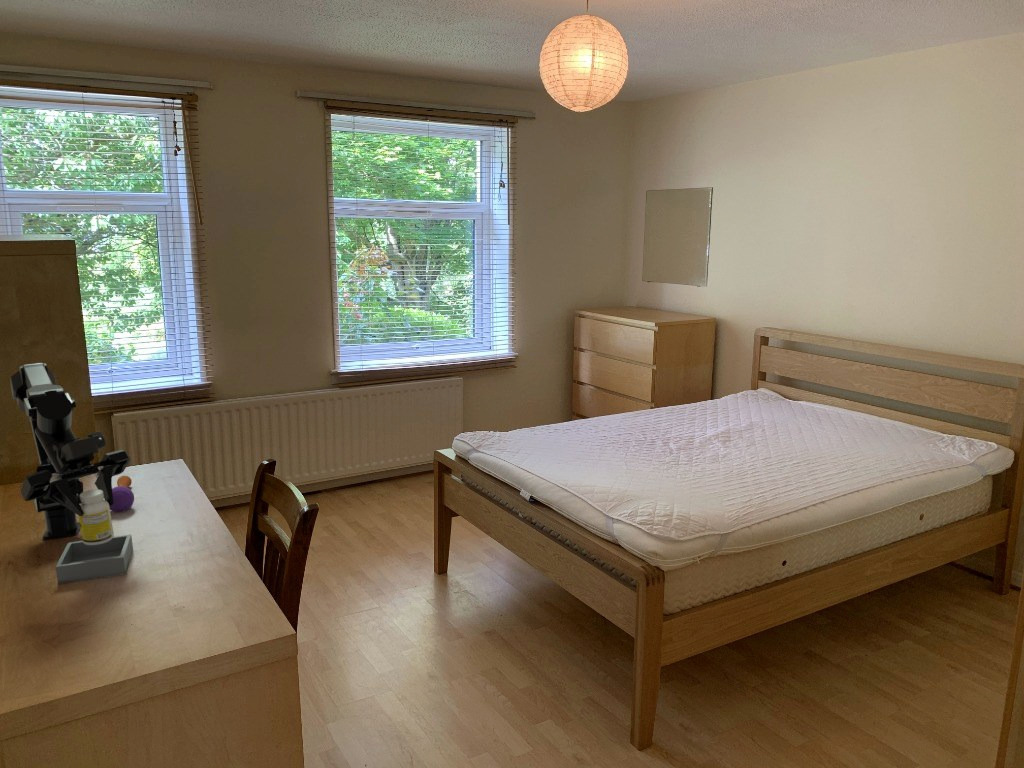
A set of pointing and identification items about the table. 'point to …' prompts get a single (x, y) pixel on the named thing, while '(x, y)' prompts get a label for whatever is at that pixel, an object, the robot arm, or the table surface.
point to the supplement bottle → (95, 518)
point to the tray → (94, 560)
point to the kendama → (122, 495)
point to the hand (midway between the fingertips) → (97, 510)
